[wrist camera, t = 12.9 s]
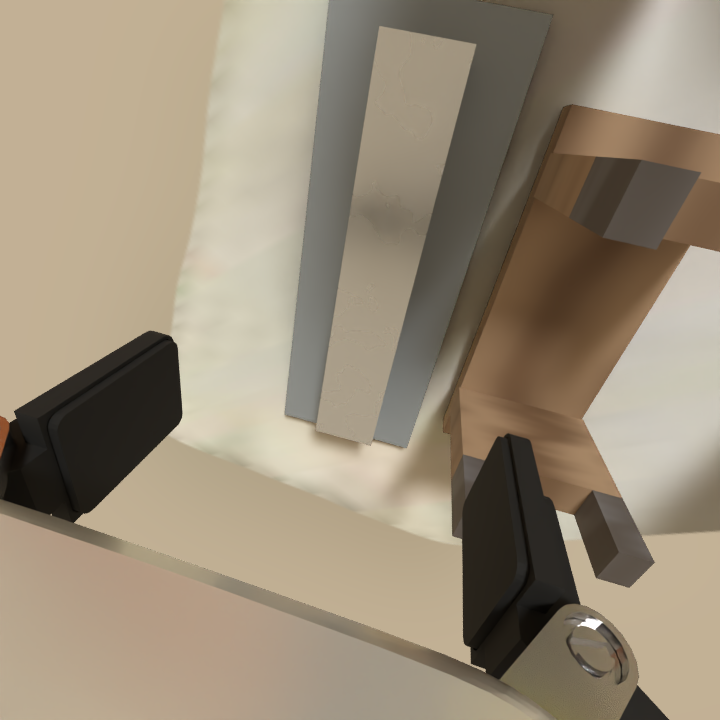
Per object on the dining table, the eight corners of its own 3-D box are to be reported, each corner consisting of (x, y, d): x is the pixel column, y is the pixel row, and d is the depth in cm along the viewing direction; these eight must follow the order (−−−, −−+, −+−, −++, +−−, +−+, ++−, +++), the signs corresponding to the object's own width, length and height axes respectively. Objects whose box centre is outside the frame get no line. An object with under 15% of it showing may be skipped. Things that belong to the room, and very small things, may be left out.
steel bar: (472, 58, 18) (476, 44, 15) (377, 419, 29) (371, 445, 27) (388, 42, 18) (379, 25, 16) (326, 405, 29) (315, 430, 27)
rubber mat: (549, 19, 17) (553, 14, 17) (407, 441, 31) (406, 448, 30) (336, -21, 18) (332, -27, 17) (288, 408, 31) (284, 414, 31)
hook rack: (735, 142, 18) (1079, 139, 8) (550, 448, 28) (606, 610, 19) (561, 106, 19) (690, 64, 9) (441, 419, 29) (440, 560, 19)
